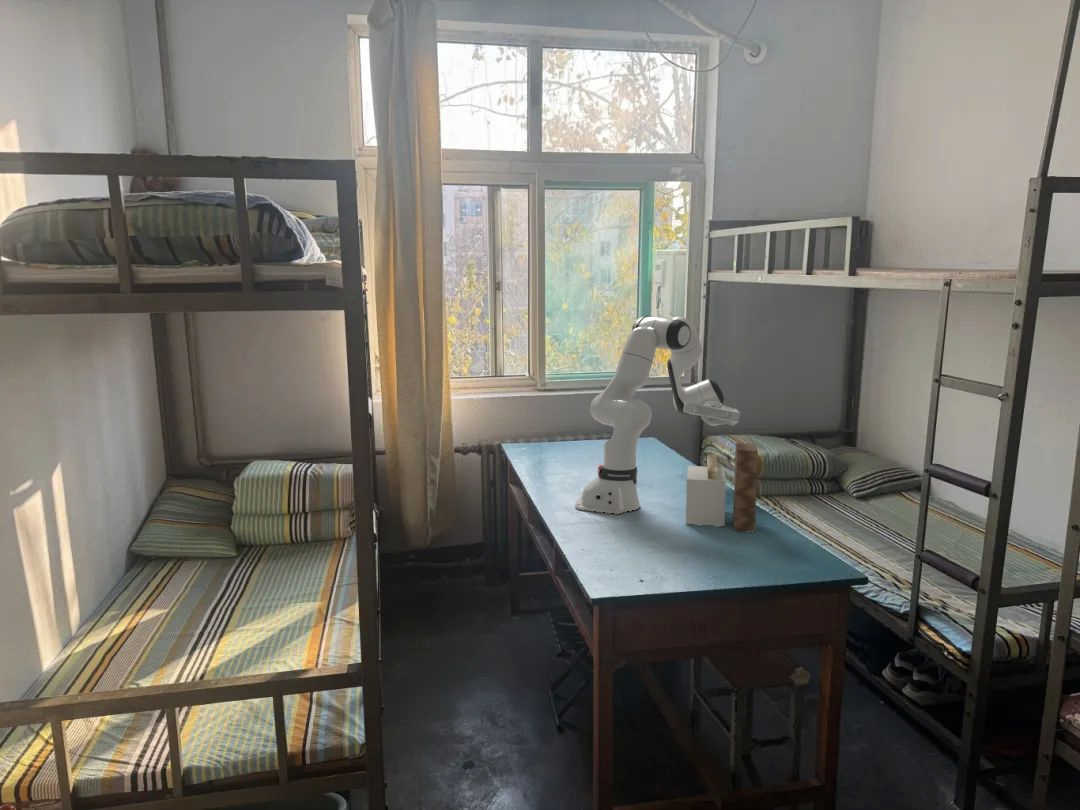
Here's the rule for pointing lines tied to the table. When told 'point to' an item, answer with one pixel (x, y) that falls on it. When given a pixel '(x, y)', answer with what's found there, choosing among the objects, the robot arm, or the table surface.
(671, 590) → the table surface
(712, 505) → the white upright block
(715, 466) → the slat
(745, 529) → the post
